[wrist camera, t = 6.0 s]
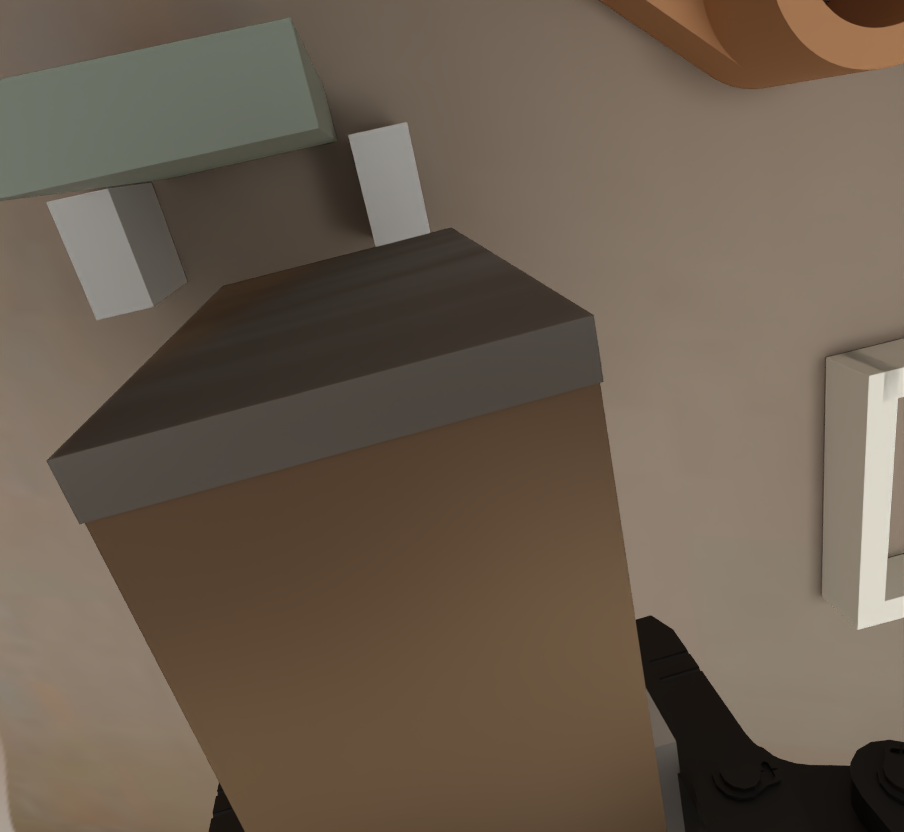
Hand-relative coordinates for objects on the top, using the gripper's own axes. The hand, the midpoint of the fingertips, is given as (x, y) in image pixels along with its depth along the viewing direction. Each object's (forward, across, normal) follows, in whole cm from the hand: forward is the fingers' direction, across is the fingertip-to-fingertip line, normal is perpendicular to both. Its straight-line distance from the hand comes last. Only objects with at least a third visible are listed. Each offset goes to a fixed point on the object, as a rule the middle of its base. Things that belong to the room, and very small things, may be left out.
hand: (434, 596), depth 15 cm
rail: (0, 0, 0) cm, 0 cm away
